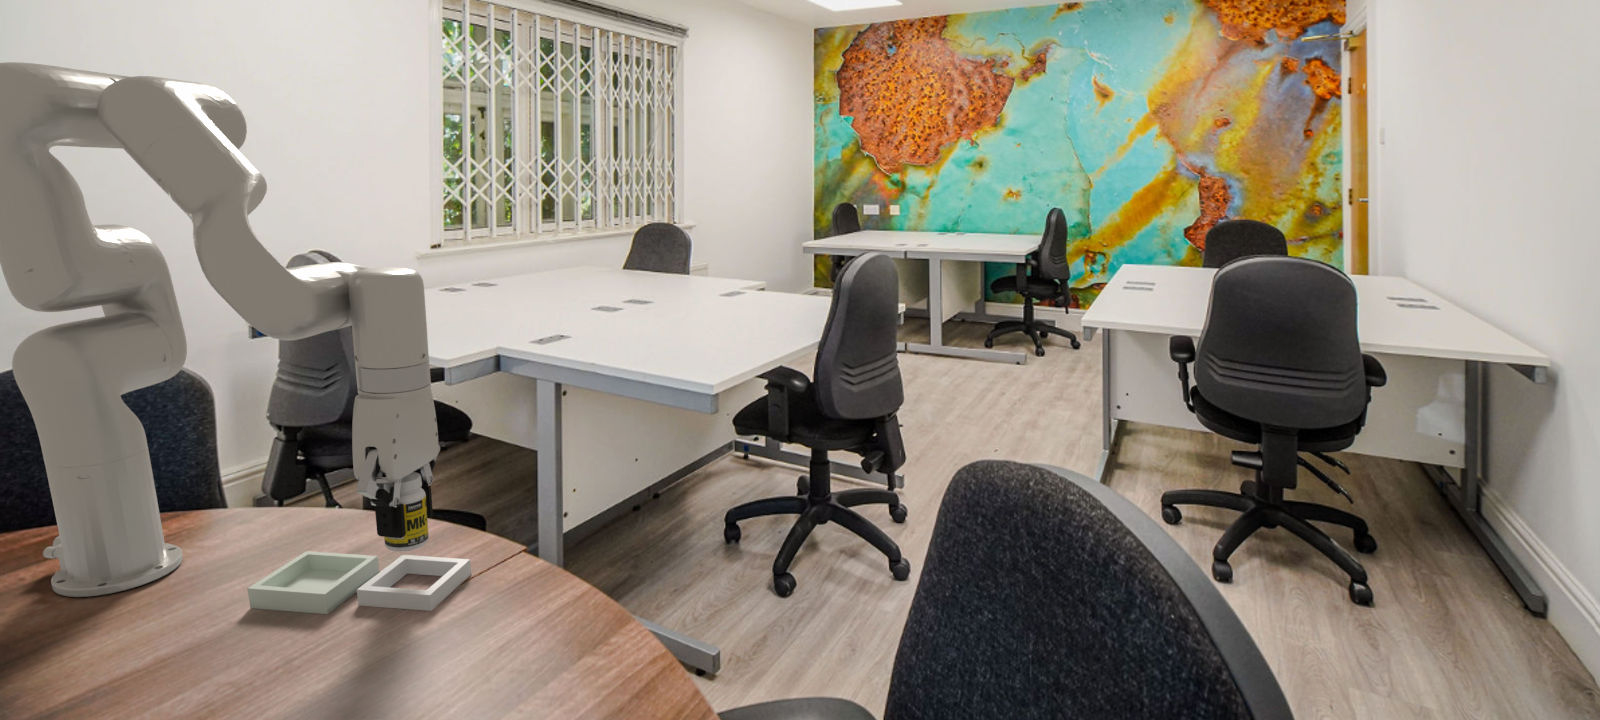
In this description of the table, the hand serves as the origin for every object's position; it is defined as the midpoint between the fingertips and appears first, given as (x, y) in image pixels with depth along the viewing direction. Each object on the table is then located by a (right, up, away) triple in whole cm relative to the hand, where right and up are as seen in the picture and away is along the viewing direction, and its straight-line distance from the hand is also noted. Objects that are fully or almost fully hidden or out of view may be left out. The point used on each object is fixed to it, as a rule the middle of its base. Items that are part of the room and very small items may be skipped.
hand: (405, 524), depth 97 cm
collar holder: (0, -8, +2) cm, 8 cm away
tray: (-11, -8, +1) cm, 14 cm away
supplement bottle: (0, -3, +1) cm, 3 cm away
